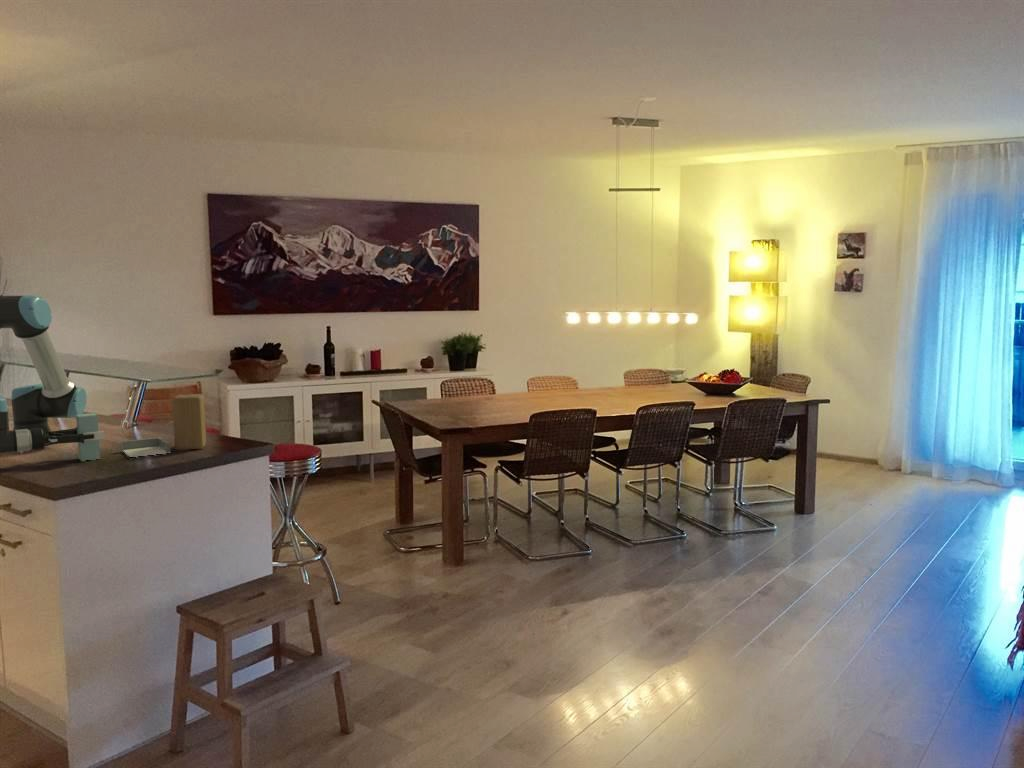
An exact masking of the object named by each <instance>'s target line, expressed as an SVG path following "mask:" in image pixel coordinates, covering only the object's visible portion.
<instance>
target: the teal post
mask: <svg viewBox="0 0 1024 768" xmlns="http://www.w3.org/2000/svg"><path fill="white" fill-rule="evenodd" d="M98 419H99V418H98V414H96V413H95V412H92V413H82V414H77V415H76V417H75V420H76V427H77V434H83V433H89V432H98V427H99V420H98ZM77 449H78V450H77V451H78V459H79V461H81V462H87V461H86V460H91V461H97V460H96V459H100V460H101V454H100V453H101V450H100V449H101V448H100V439H98V440H88V441H84V443H82V442H77Z"/></svg>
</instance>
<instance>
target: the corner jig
mask: <svg viewBox="0 0 1024 768" xmlns="http://www.w3.org/2000/svg"><path fill="white" fill-rule="evenodd" d="M122 451H123V452H124V453H125V454H126V455H127V456H126V455H125V454H124V453H123V452H122ZM121 452H122V453H123V454H124V455H125V456H126V457H128V456H129V457H136V458H139V457H138V456H145V457H148V456H147V455H154V456H157V455H156V454H163V455H167V454H166V453H171V442H169V441H168V440H166V439H165V438H163V437H162V436H159V437H150V438H140V439H139V438H137V439H130V440H122V441H121ZM129 457H128V458H129Z"/></svg>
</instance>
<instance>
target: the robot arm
mask: <svg viewBox="0 0 1024 768" xmlns="http://www.w3.org/2000/svg"><path fill="white" fill-rule="evenodd" d="M52 319H53V315H52V309H51V307H50V305H49V303H48V302H47V300H46V299H45V298H44V297H42V296H39V295H31V294H25V295H0V330H1V329H10V330H11V329H12V333H13V334H14V336H15V337H16V338H18V339H22V342H23V345H24V347H25V349H26V351H27V353H28V355H29V358H30V359H31V362H32V364H33V366H34V368H35V370H36V372H37V375H38V376H39V380H40V381H41V383H38V384H37V383H35V384H31V385H24V386H19V387H14V388H13V389H12V390H11V397H10V398H11V400H10V401H11V408H12V419H13V420H12V421H13V426H12V427H13V428H12V430H10V422H9V421H10V420H9V408H8V400H7V398H6V397H5V396H2V395H0V455H2V454H9V453H18V452H19V454H23V453H24V452H27V451H28V452H29V451H30V450H32V451H39V450H45V446H48V445H49V444H50V445H58V444H74V443H76V444H77V443H78V442H82V443H84V441H88V440H98V439H99V440H104V439H105V431H104V430H102V431H101V430H100V426H98V432H89V433H83V434H77V426H75V428H69V429H67V428H66V429H60V430H52V429H51V427H50V424H49V422H48V421H49V419H51V418H52V419H55V418H56V419H62V418H63V419H71V418H76V415H77V414H84V412H85V409H86V407H87V401H88V398H87V397H88V396H87V393H86V390H85V389H84V388H83V387H80V386H79V387H77V386H76V383H75V381H74V380H73V379H71V378H68V377H67V373H66V372H65V370H64V369H65V368H64V367H63V365H62V362H61V359H60V358H59V355H58V353H57V351H56V349H55V346H54V344H53V342H52V339H51V337H50V335H49V332H48V330H49V329H50V325H51V323H52ZM50 445H49V446H50Z"/></svg>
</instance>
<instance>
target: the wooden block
mask: <svg viewBox="0 0 1024 768" xmlns="http://www.w3.org/2000/svg"><path fill="white" fill-rule="evenodd" d="M171 403H172V416H173V418H172V419H173V435H174V436H173V437H174V439H173V440H174V448H175V451H190V450H189V449H198V450H202V449H203V448H204V447H205V446H206V444H207V435H206V434H207V429H206V411H205V410H206V409H205V396H204V394H202V393H191V394H189V393H188V394H178V395H176V396H174V397H173V398H172V401H171Z"/></svg>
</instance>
